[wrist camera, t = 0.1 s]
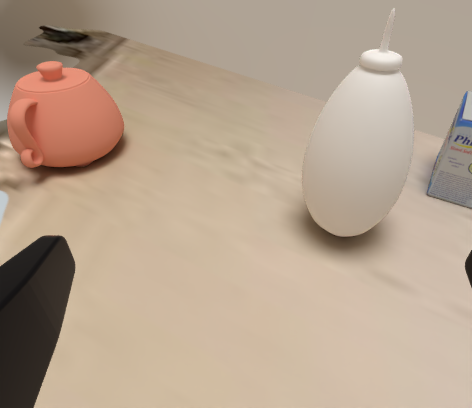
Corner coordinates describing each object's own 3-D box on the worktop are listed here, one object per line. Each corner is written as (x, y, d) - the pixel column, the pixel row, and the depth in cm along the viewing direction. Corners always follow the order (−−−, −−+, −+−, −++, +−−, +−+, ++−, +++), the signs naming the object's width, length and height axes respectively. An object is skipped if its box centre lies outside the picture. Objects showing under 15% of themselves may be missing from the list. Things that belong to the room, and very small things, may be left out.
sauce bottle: (335, 191, 37) (380, -8, 26) (401, 234, 32) (492, 11, 21) (278, 220, 34) (301, 4, 22) (342, 273, 29) (414, 30, 17)
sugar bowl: (143, 131, 47) (129, 50, 41) (88, 195, 37) (57, 98, 30) (59, 122, 49) (33, 43, 43) (-16, 180, 39) (-66, 86, 32)
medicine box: (435, 160, 42) (465, 88, 37) (478, 171, 40) (516, 97, 35) (425, 196, 37) (459, 117, 31) (474, 210, 35) (518, 130, 30)
